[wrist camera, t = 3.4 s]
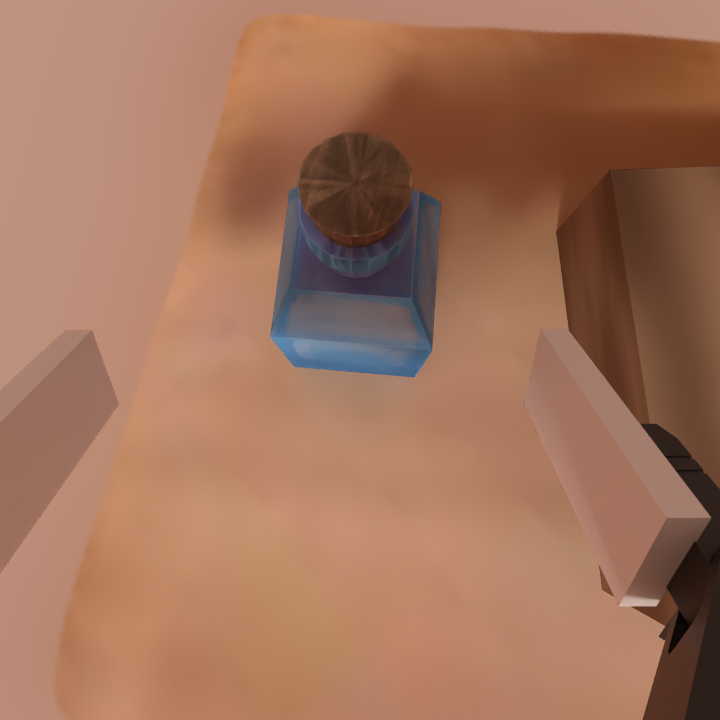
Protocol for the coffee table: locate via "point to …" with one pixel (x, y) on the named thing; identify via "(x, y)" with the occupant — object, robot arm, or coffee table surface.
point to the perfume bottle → (357, 262)
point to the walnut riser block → (652, 304)
